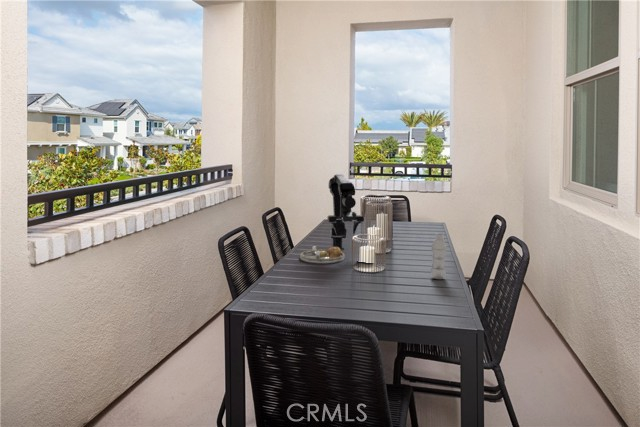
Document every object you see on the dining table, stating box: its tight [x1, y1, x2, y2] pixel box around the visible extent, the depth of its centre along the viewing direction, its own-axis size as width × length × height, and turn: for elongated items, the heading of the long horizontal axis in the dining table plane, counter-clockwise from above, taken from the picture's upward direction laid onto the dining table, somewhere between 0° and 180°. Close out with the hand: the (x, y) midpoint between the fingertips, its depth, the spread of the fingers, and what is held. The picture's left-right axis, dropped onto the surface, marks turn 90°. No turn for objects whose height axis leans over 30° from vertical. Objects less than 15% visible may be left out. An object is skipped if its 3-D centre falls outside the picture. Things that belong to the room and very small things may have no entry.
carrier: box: [299, 245, 346, 265], centre depth 253 cm, size 23×23×5 cm
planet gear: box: [327, 246, 342, 257], centre depth 254 cm, size 7×7×4 cm
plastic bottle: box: [430, 233, 448, 280], centre depth 213 cm, size 6×7×20 cm
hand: (345, 234), depth 257 cm, fingers open, 9 cm apart
